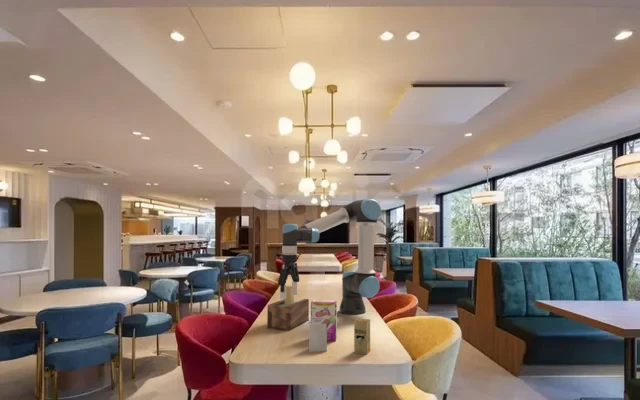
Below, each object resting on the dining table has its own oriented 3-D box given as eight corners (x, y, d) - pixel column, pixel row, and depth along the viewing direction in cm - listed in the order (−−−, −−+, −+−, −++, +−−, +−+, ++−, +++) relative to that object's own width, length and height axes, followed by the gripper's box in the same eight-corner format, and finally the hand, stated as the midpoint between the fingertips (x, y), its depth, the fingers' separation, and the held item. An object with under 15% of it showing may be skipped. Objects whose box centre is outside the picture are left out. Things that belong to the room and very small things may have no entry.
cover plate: (304, 305, 207) (304, 284, 207) (288, 312, 188) (288, 289, 189) (289, 304, 210) (289, 283, 210) (272, 311, 191) (272, 288, 192)
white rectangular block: (326, 351, 154) (326, 324, 155) (309, 351, 153) (309, 325, 154) (325, 348, 157) (325, 322, 158) (308, 348, 157) (308, 323, 158)
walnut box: (308, 320, 207) (308, 299, 208) (290, 330, 185) (290, 306, 186) (287, 318, 211) (288, 297, 212) (267, 328, 190) (267, 305, 190)
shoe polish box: (358, 349, 156) (357, 318, 157) (370, 350, 154) (370, 319, 155) (354, 352, 152) (354, 320, 153) (366, 354, 150) (366, 322, 151)
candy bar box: (310, 340, 168) (310, 301, 170) (311, 337, 173) (311, 299, 175) (336, 341, 167) (336, 302, 169) (337, 338, 172) (337, 300, 174)
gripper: (293, 252, 214) (292, 292, 212) (271, 255, 191) (270, 299, 189) (305, 253, 211) (305, 293, 209) (285, 255, 188) (284, 301, 186)
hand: (288, 296), depth 199 cm, fingers open, 13 cm apart
